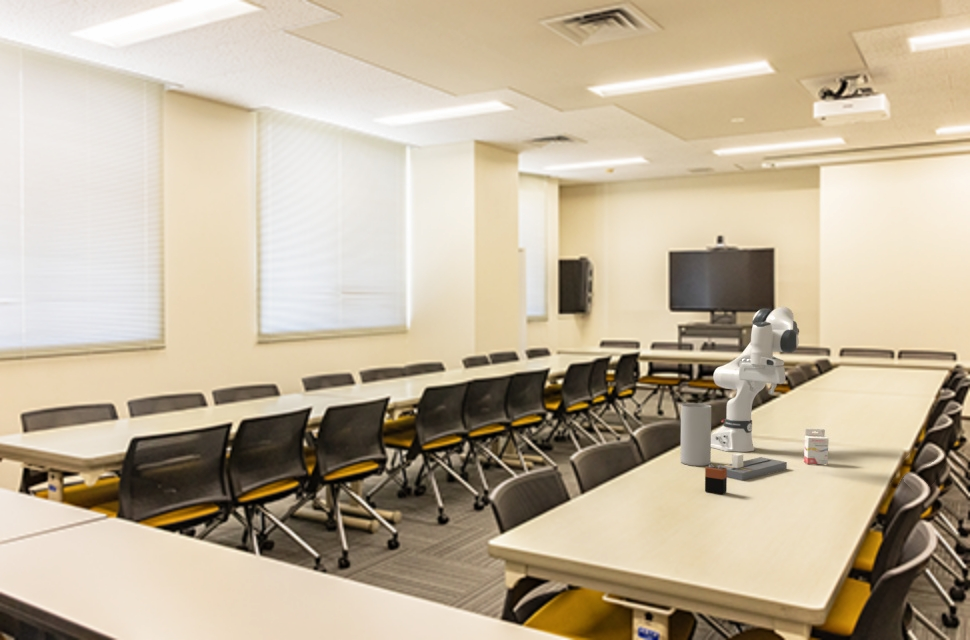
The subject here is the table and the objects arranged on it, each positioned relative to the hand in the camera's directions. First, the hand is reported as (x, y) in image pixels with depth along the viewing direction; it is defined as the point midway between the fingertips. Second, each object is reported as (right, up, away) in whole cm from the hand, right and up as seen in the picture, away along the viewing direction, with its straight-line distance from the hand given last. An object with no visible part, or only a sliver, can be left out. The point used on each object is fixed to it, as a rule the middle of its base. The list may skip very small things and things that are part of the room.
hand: (761, 392), depth 315 cm
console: (-8, -32, -12) cm, 34 cm away
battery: (-33, -33, -43) cm, 63 cm away
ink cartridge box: (+25, -31, +4) cm, 40 cm away
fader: (-16, -30, -18) cm, 38 cm away
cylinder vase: (-27, -31, +4) cm, 41 cm away
